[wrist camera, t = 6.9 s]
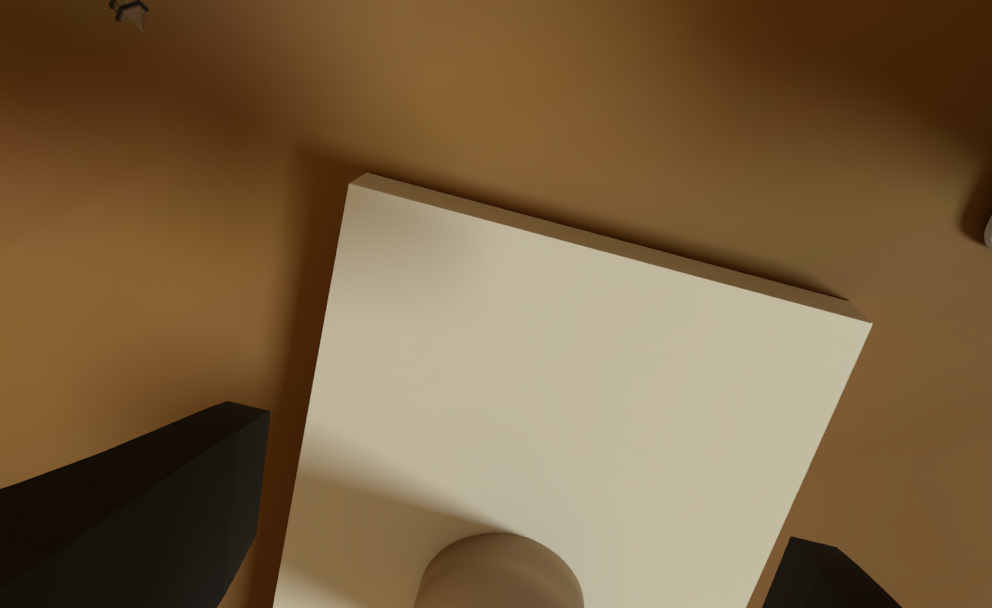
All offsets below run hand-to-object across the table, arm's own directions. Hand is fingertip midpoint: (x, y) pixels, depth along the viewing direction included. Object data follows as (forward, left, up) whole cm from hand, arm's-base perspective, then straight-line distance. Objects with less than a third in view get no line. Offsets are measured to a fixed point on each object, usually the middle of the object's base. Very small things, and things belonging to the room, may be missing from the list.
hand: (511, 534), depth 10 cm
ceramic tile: (-1, +8, -9) cm, 12 cm away
